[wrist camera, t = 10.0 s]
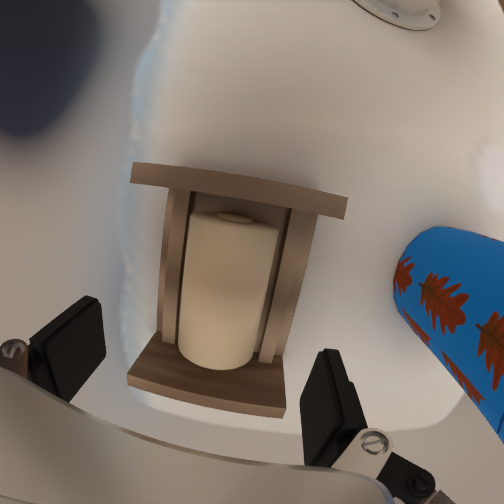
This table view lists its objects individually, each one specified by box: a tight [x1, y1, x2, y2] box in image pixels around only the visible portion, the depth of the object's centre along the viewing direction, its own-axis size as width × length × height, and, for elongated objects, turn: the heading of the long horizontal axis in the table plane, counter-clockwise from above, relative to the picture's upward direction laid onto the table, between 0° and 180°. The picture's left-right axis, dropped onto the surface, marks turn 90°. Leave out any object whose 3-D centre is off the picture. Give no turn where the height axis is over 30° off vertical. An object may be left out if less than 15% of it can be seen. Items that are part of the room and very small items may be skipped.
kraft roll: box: [178, 211, 279, 370], centre depth 20 cm, size 11×6×6 cm, turn 170°
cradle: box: [127, 162, 348, 418], centre depth 20 cm, size 16×12×8 cm
